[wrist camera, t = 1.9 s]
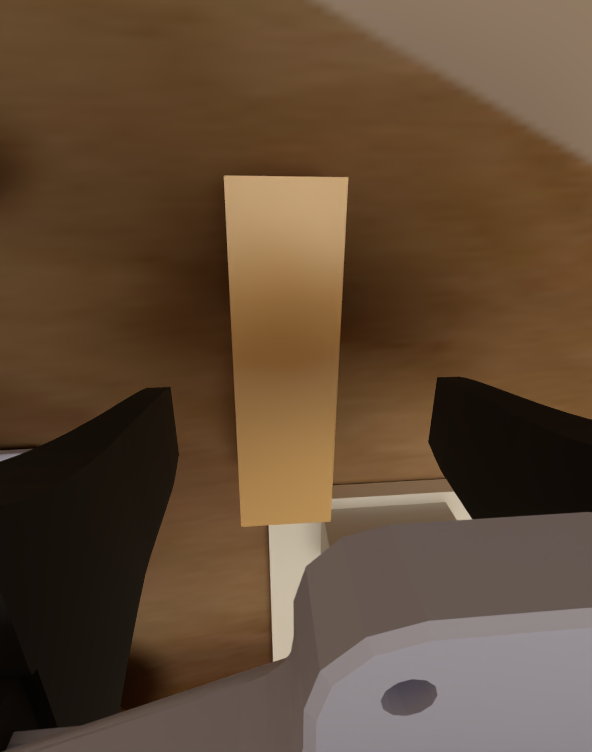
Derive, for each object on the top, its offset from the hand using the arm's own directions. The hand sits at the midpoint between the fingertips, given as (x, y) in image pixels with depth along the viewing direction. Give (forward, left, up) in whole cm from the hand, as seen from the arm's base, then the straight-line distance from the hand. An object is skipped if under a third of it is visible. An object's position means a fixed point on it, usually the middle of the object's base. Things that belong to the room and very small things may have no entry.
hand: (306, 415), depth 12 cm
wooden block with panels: (0, 0, -7) cm, 7 cm away
